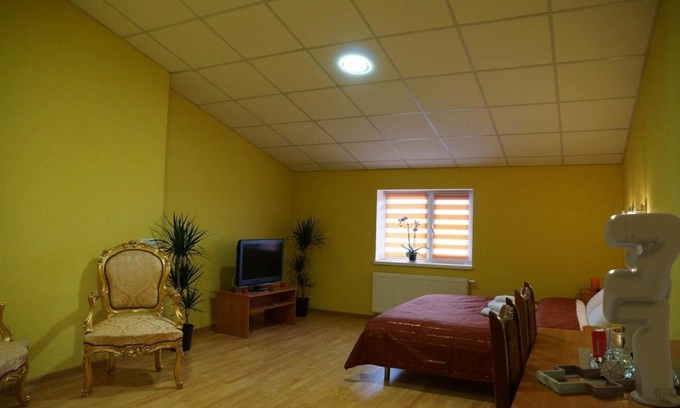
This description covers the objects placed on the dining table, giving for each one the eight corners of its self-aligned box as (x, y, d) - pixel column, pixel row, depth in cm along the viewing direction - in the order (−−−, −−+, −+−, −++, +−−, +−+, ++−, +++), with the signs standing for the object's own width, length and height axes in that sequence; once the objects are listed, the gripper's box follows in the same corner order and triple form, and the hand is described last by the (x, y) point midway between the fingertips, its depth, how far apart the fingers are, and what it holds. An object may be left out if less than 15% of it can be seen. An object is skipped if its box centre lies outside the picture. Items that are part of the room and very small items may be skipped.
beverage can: (600, 363, 181) (598, 331, 182) (590, 360, 186) (588, 329, 187) (611, 361, 183) (608, 330, 184) (600, 358, 188) (598, 328, 189)
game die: (620, 395, 155) (635, 375, 150) (594, 385, 157) (607, 365, 152) (616, 375, 163) (630, 356, 157) (591, 366, 164) (604, 346, 159)
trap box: (662, 394, 144) (661, 384, 144) (569, 399, 142) (568, 389, 142) (608, 371, 171) (607, 362, 171) (528, 375, 169) (528, 366, 169)
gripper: (622, 319, 155) (627, 376, 153) (665, 318, 156) (670, 374, 154) (608, 316, 163) (612, 370, 161) (649, 314, 163) (653, 368, 162)
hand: (640, 372), depth 158 cm, fingers closed
